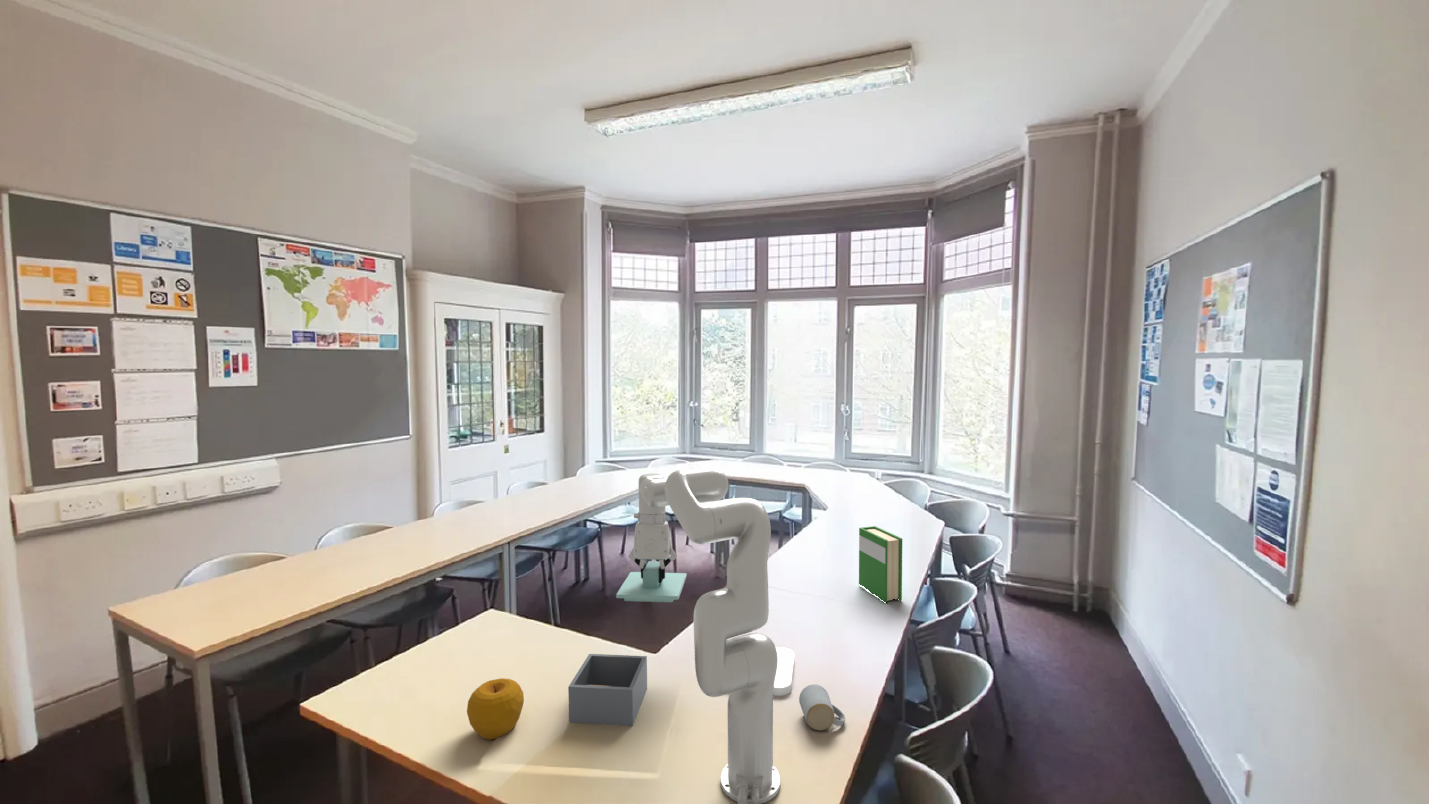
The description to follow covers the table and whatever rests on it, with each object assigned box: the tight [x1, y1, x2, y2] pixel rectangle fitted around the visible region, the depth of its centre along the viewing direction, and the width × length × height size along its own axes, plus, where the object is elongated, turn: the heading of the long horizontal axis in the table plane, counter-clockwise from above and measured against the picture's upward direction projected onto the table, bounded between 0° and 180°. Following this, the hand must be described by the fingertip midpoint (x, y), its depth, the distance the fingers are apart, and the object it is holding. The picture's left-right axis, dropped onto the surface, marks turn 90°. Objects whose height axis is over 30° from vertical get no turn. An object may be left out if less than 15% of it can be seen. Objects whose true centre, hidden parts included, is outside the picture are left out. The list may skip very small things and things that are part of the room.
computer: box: [773, 646, 795, 697], centre depth 161 cm, size 22×22×3 cm
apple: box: [466, 677, 525, 741], centre depth 135 cm, size 13×13×11 cm
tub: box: [567, 653, 648, 727], centre depth 143 cm, size 16×16×10 cm
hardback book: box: [858, 525, 903, 603], centre depth 216 cm, size 18×7×24 cm, turn 18°
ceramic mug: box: [798, 683, 846, 732], centre depth 137 cm, size 11×8×8 cm
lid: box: [615, 560, 688, 603], centre depth 158 cm, size 17×17×8 cm
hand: (653, 580), depth 158 cm, fingers closed on lid, 4 cm apart
